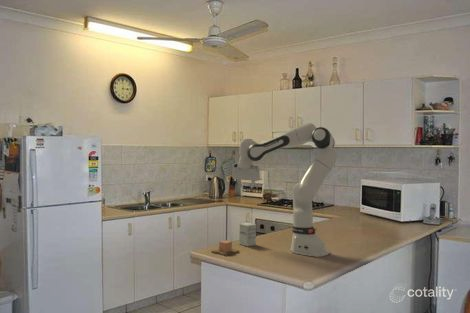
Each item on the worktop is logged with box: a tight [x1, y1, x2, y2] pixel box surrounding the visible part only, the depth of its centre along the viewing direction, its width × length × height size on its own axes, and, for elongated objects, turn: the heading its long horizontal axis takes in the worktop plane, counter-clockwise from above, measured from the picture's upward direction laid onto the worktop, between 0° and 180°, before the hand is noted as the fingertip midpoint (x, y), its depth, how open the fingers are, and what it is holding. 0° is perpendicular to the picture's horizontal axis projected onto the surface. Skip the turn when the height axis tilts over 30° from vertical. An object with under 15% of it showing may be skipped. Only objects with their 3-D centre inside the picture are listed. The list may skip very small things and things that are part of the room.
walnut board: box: [211, 248, 240, 257], centre depth 229 cm, size 11×11×1 cm
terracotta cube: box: [218, 240, 233, 252], centre depth 229 cm, size 5×5×5 cm
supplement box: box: [238, 222, 257, 247], centre depth 248 cm, size 7×7×13 cm
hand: (245, 187), depth 255 cm, fingers open, 8 cm apart
